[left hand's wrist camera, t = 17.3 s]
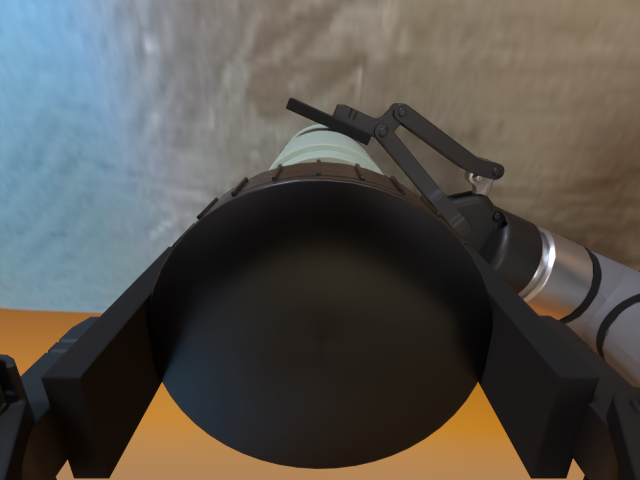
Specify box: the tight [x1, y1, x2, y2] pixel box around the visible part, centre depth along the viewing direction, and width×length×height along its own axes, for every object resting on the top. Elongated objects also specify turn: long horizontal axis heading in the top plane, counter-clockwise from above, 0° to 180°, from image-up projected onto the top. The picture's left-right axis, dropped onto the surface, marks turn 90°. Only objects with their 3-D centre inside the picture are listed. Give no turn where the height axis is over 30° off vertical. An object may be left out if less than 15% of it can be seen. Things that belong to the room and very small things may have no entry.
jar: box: [268, 124, 383, 175], centre depth 28 cm, size 8×8×18 cm
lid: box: [148, 159, 492, 469], centre depth 11 cm, size 9×9×2 cm
